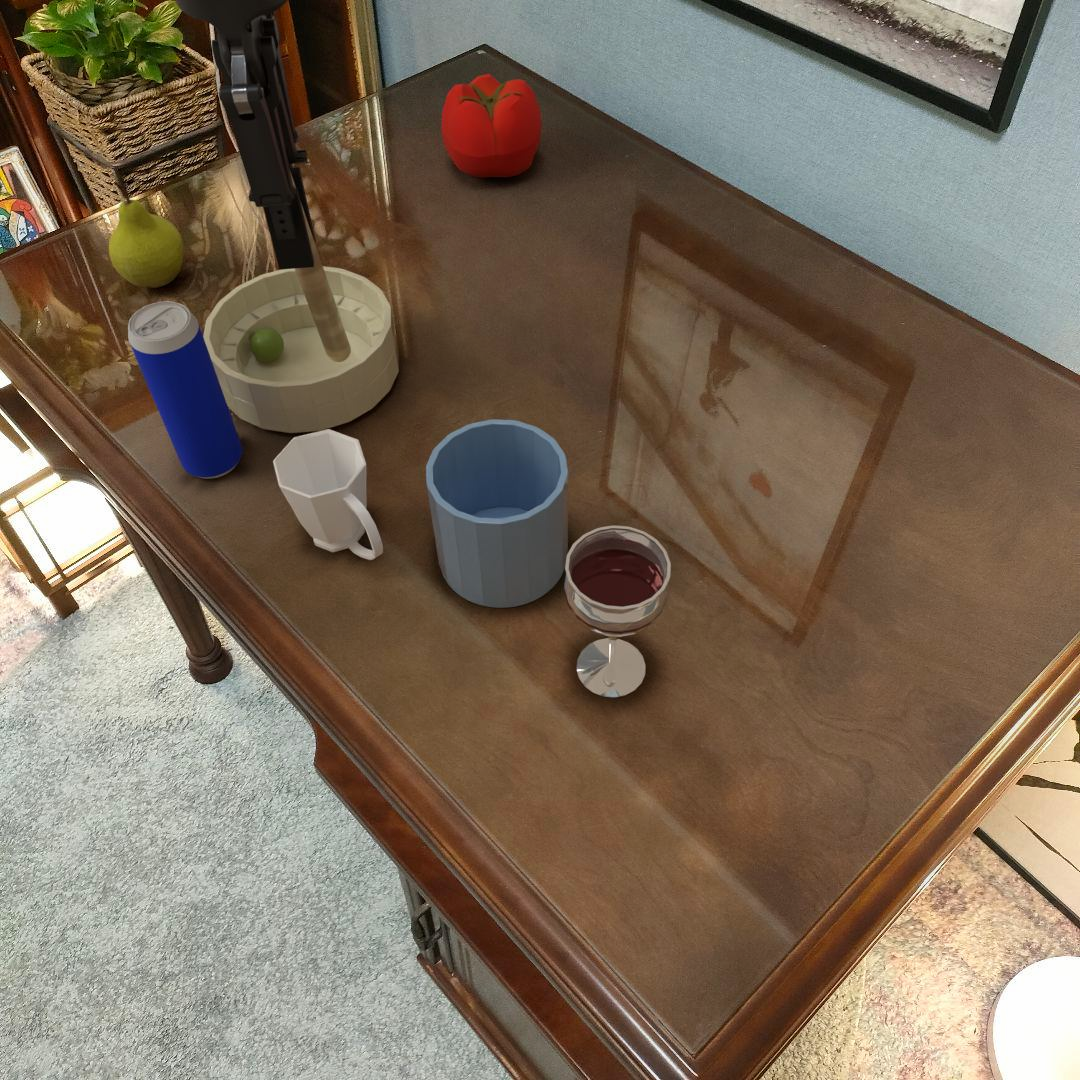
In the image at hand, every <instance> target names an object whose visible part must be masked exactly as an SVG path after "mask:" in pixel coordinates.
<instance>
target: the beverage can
mask: <svg viewBox="0 0 1080 1080" xmlns="http://www.w3.org/2000/svg"><path fill="white" fill-rule="evenodd" d="M203 335H204V334H203V332H202V329H201V325H200V323H199V321H198V318H197V317H196V316H195V315H194V313H192V311H191V310H190V309H189V308H188V307H187V306H186V305H184V304H181V302H176V301H171V300H170V301H169V300H168V301H164V300H163V301H155V302H153V303H152V302H151V303H150V304H147V305H145V306H143V307H140V308H139V309H137V310H136V311H135V312H134V313H133V314H132V315H131V317H130V318H129V321H128V323H127V337H128V339H127V340H128V343H129V345H130V348H131V350H132V352H133V354H134V357H135V359H136V362H137V364H138V366H139V369H140V372H141V374H142V375H143V378H144V380H145V383H146V385H147V387H148V390H149V392H150V394H151V397H152V399H153V401H154V404H155V406H156V408H157V411H158V414H159V416H160V418H161V420H162V423H163V425H164V428H165V430H166V432H167V434H168V437H169V439H170V442H171V444H172V446H173V448H174V450H175V453H176V456H177V457H178V460H179V462H180V464H181V466H182V469H183V470H184V471H185V472H186V473H188V474H189V475H191V476H194V477H196V478H199V479H206V480H209V479H210V480H211V479H217V478H221V477H223V476H225V475H228V474H229V473H230V472H231V471H233V470H234V469H235V468H236V467H237V465H238V464H239V462H240V460H241V458H242V455H243V446H242V443H241V440H240V437H239V435H238V431H237V428H236V426H235V422H234V420H233V418H232V417H233V416H232V415H231V411H230V408H229V407H228V406H227V403H226V400H225V397H224V394H223V391H222V389H221V386H220V383H219V380H218V377H217V374H216V372H215V369H214V366H213V363H212V360H211V357H210V355H209V352H208V349H207V346H206V343H205V340H204V337H203Z"/></svg>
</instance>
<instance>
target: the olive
mask: <svg viewBox="0 0 1080 1080" xmlns="http://www.w3.org/2000/svg"><path fill="white" fill-rule="evenodd" d="M250 347H251V350H252V352H253V354H254V355H255V356H256V357H257V358H258V359H260V360H262V361H273V360H276V359H277V358H279V357H280V356H281V354H282V353H283V350H284V341H283V338H282V337H281V335H280V334H279V333H278V332H277V331H275V330H273V329H270V328H262V329H259V330H258V331H256V332H255V333H254V334H253V336H252V338H251V341H250Z"/></svg>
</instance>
